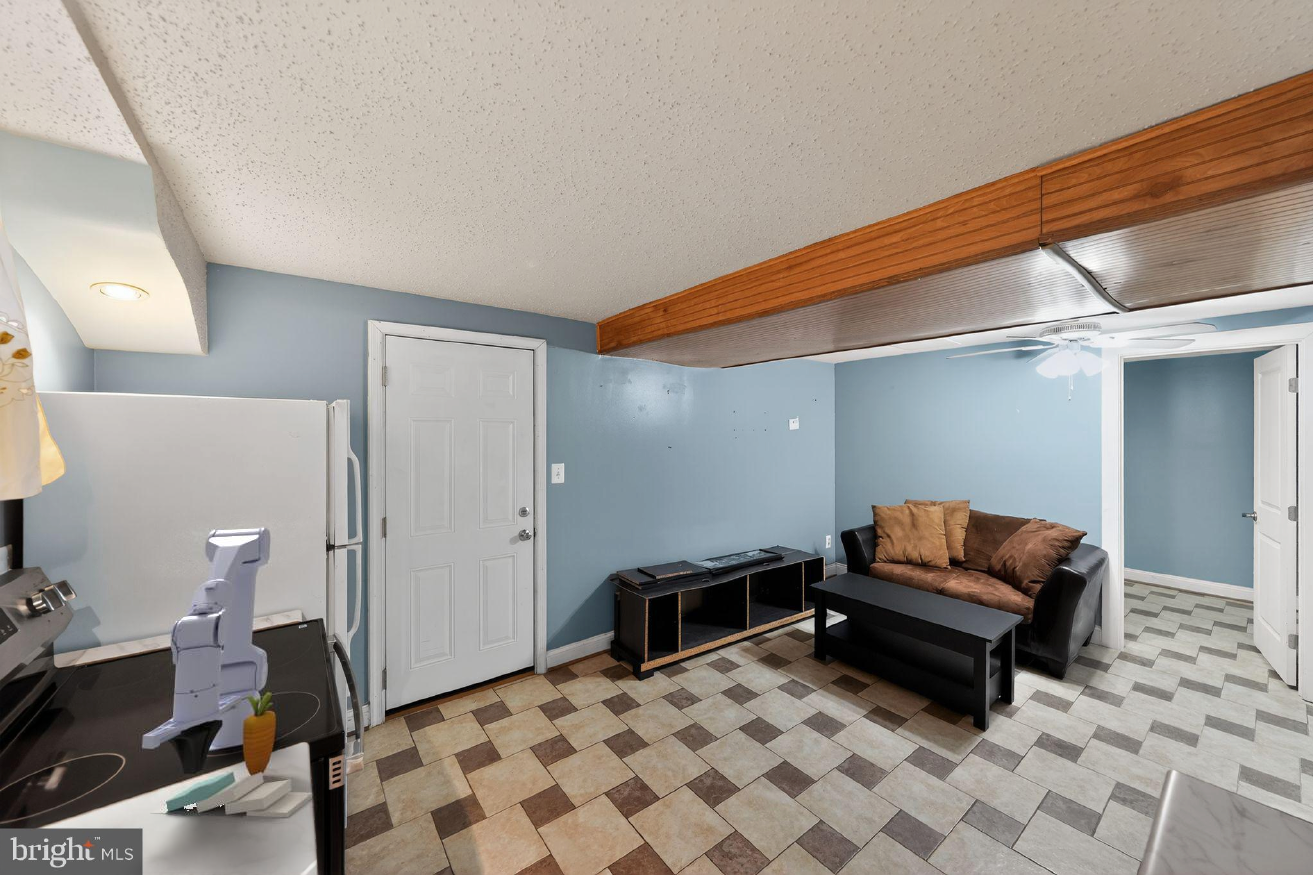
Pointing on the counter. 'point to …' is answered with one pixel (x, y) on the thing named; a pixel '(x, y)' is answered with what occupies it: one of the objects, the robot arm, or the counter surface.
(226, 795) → the domino
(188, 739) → the robot arm
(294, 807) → the domino
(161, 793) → the counter surface
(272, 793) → the domino
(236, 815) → the mat
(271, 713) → the carrot
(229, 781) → the tile
